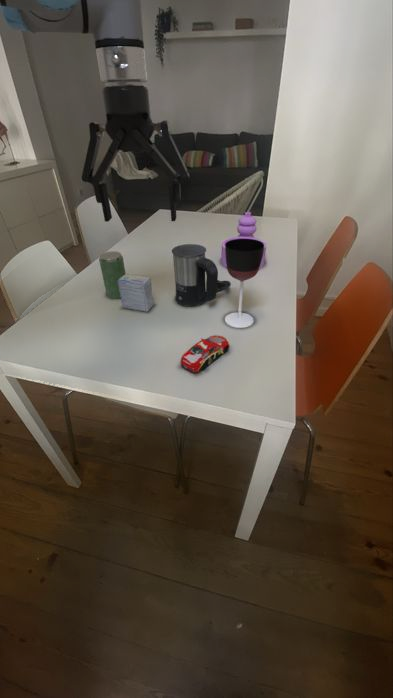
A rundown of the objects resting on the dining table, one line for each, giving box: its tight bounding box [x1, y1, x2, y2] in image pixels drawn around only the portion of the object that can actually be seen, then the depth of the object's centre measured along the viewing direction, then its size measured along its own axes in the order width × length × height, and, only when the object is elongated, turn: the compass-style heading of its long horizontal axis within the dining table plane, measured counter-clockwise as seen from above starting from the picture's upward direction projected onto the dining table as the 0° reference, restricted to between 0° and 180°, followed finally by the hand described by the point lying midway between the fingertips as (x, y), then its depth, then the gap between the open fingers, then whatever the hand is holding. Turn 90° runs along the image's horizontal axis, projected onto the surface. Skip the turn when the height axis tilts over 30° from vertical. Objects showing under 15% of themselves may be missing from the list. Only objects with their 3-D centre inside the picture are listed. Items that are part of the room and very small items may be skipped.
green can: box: [98, 250, 127, 300], centre depth 93 cm, size 7×7×12 cm
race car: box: [180, 334, 230, 373], centre depth 71 cm, size 13×5×4 cm, turn 137°
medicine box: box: [118, 273, 155, 313], centre depth 87 cm, size 8×4×9 cm, turn 71°
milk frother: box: [171, 243, 232, 307], centre depth 90 cm, size 14×16×15 cm
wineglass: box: [224, 239, 264, 329], centre depth 78 cm, size 8×9×20 cm
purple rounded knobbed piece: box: [220, 211, 267, 269], centre depth 113 cm, size 25×15×13 cm, turn 169°
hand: (141, 219), depth 65 cm, fingers open, 13 cm apart
